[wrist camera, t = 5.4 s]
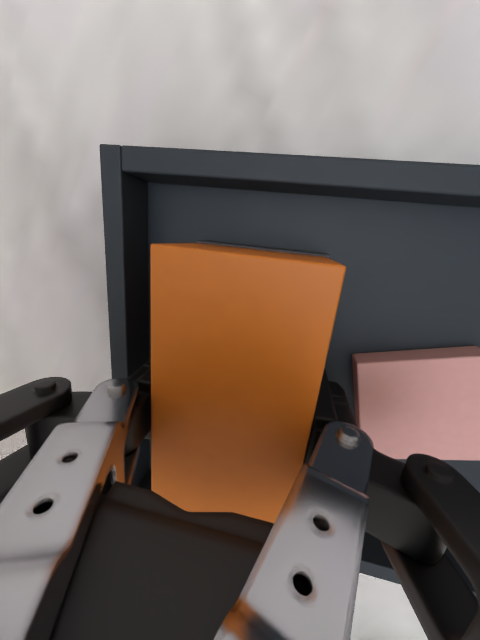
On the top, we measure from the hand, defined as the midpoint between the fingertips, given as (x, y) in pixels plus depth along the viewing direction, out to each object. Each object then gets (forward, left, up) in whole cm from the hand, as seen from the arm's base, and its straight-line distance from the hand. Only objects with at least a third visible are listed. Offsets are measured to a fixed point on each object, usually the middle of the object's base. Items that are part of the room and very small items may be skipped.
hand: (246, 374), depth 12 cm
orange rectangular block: (0, 0, -1) cm, 1 cm away
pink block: (+7, 0, -1) cm, 7 cm away
